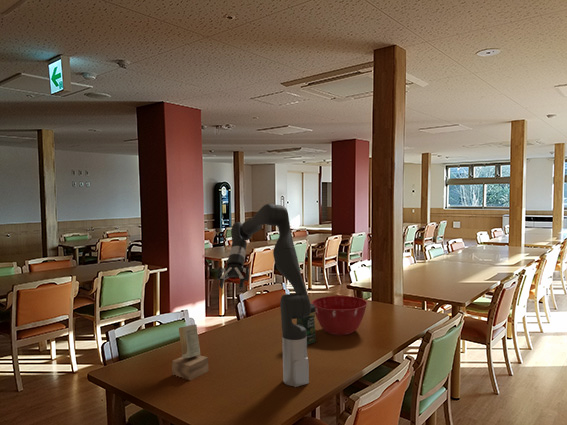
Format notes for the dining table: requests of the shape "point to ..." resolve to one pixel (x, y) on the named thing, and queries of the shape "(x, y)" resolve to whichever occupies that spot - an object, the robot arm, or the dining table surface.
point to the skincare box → (189, 341)
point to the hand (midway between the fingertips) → (230, 287)
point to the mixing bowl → (339, 313)
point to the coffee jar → (309, 325)
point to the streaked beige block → (190, 367)
